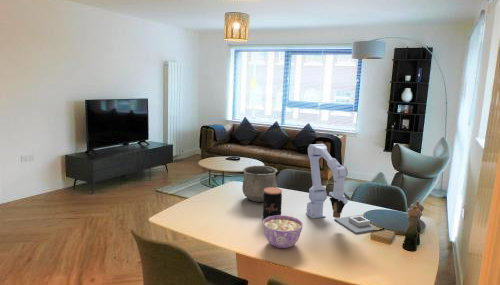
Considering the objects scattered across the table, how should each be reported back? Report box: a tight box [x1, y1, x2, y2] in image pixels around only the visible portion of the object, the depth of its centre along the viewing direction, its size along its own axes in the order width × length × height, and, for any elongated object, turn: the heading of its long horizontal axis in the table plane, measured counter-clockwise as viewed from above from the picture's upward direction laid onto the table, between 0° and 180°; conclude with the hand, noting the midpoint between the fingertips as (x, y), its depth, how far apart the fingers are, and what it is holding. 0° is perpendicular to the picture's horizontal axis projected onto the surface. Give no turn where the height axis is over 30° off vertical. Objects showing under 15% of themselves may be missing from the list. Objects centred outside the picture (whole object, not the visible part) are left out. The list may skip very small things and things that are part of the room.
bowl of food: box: [262, 214, 304, 249], centre depth 181 cm, size 20×20×12 cm
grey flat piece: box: [334, 214, 376, 235], centre depth 209 cm, size 20×20×4 cm
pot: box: [241, 165, 279, 203], centre depth 244 cm, size 25×24×21 cm
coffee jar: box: [262, 187, 283, 220], centre depth 212 cm, size 11×11×18 cm
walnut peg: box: [332, 202, 342, 219], centre depth 201 cm, size 4×4×8 cm
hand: (337, 211), depth 201 cm, fingers closed on walnut peg, 4 cm apart
